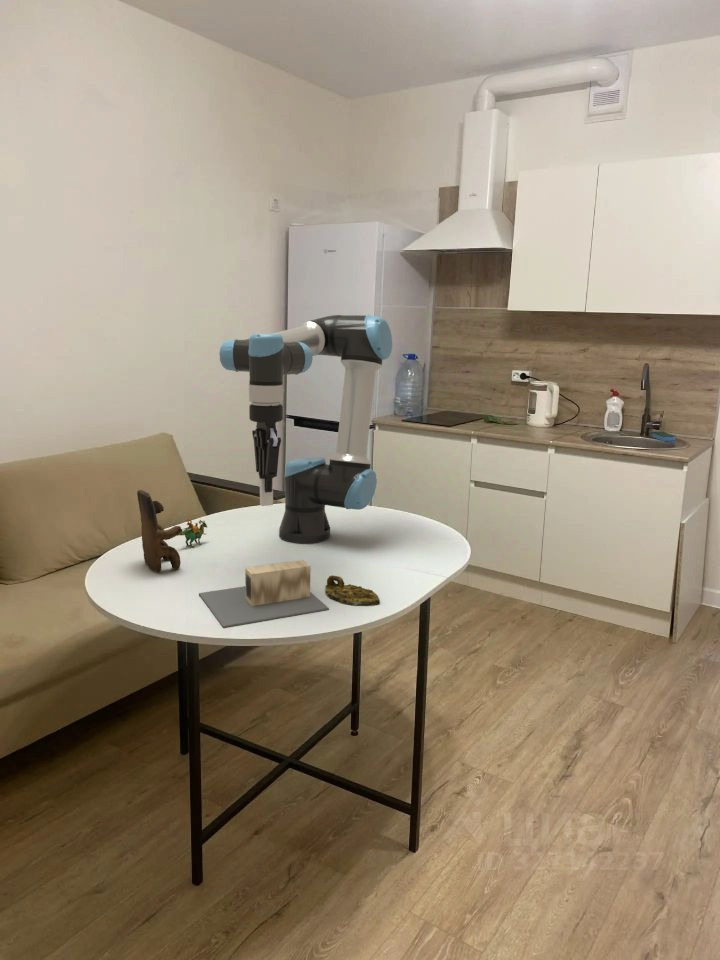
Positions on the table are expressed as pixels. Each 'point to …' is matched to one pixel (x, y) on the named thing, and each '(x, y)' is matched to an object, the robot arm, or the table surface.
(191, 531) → the figurine
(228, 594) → the rubber mat
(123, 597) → the table surface
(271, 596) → the beech block
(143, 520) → the figurine
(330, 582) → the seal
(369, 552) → the table surface
